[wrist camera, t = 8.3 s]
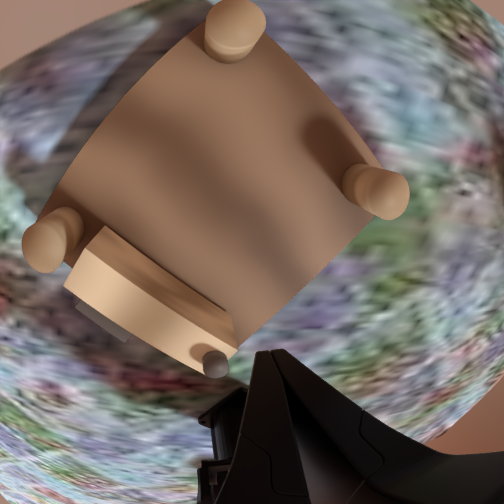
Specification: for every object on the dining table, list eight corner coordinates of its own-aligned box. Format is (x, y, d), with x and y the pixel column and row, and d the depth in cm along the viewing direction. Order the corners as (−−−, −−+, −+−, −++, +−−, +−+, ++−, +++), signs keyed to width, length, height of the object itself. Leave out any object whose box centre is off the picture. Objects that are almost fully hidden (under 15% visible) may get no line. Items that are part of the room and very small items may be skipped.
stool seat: (213, 349, 23) (219, 402, 18) (43, 222, 17) (2, 252, 12) (382, 185, 20) (431, 204, 15) (225, 14, 14) (237, -26, 9)
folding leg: (231, 316, 19) (241, 360, 15) (206, 341, 19) (211, 387, 16) (105, 225, 15) (79, 254, 11) (84, 258, 16) (57, 293, 12)
